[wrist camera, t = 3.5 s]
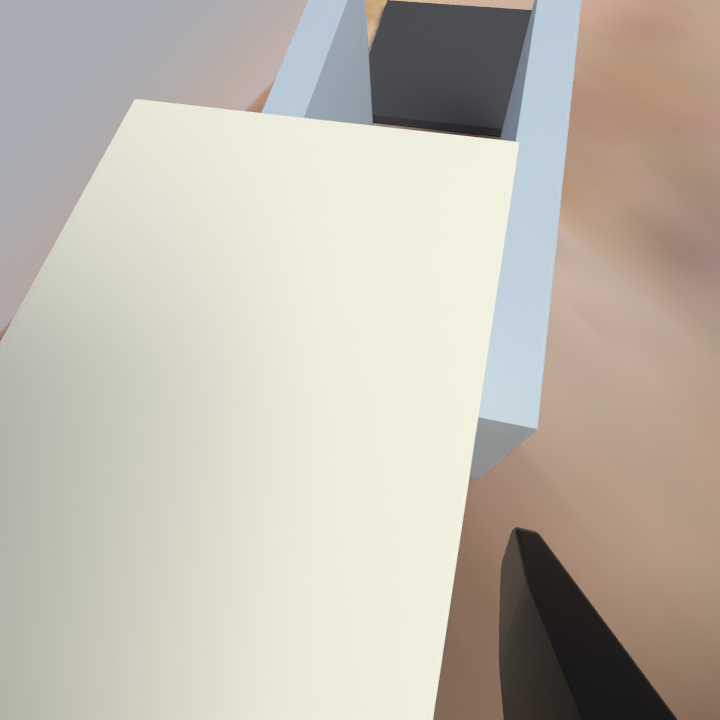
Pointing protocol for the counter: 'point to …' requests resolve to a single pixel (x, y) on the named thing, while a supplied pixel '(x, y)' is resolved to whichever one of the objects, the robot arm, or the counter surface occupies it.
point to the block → (247, 421)
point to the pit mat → (446, 65)
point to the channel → (529, 194)
